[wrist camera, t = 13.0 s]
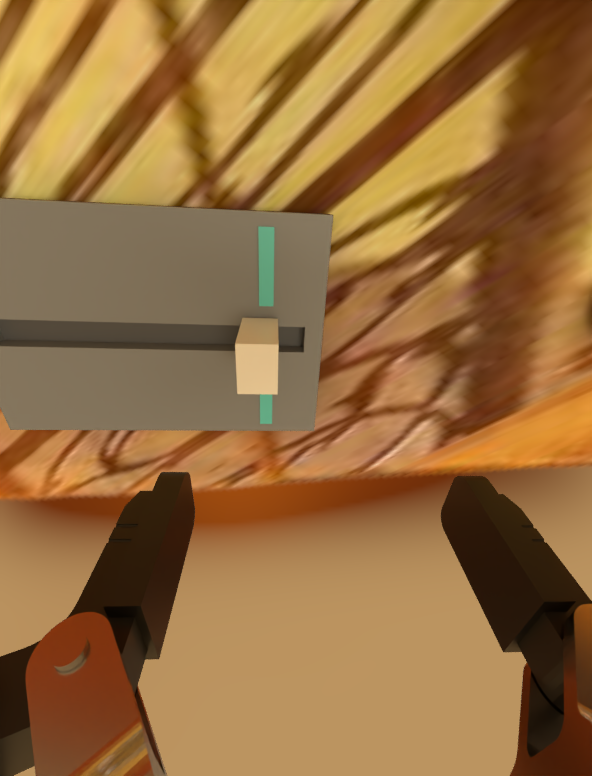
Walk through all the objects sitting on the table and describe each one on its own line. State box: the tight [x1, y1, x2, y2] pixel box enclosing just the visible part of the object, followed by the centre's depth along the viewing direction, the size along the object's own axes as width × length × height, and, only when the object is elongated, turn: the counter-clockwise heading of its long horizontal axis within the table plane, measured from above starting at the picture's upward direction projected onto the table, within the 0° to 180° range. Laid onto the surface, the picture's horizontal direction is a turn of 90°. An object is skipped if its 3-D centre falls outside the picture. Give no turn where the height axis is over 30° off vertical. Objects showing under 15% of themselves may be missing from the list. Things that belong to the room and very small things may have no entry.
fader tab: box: [235, 318, 279, 395], centre depth 27 cm, size 4×3×7 cm
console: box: [0, 198, 333, 431], centre depth 30 cm, size 20×30×3 cm, turn 88°
